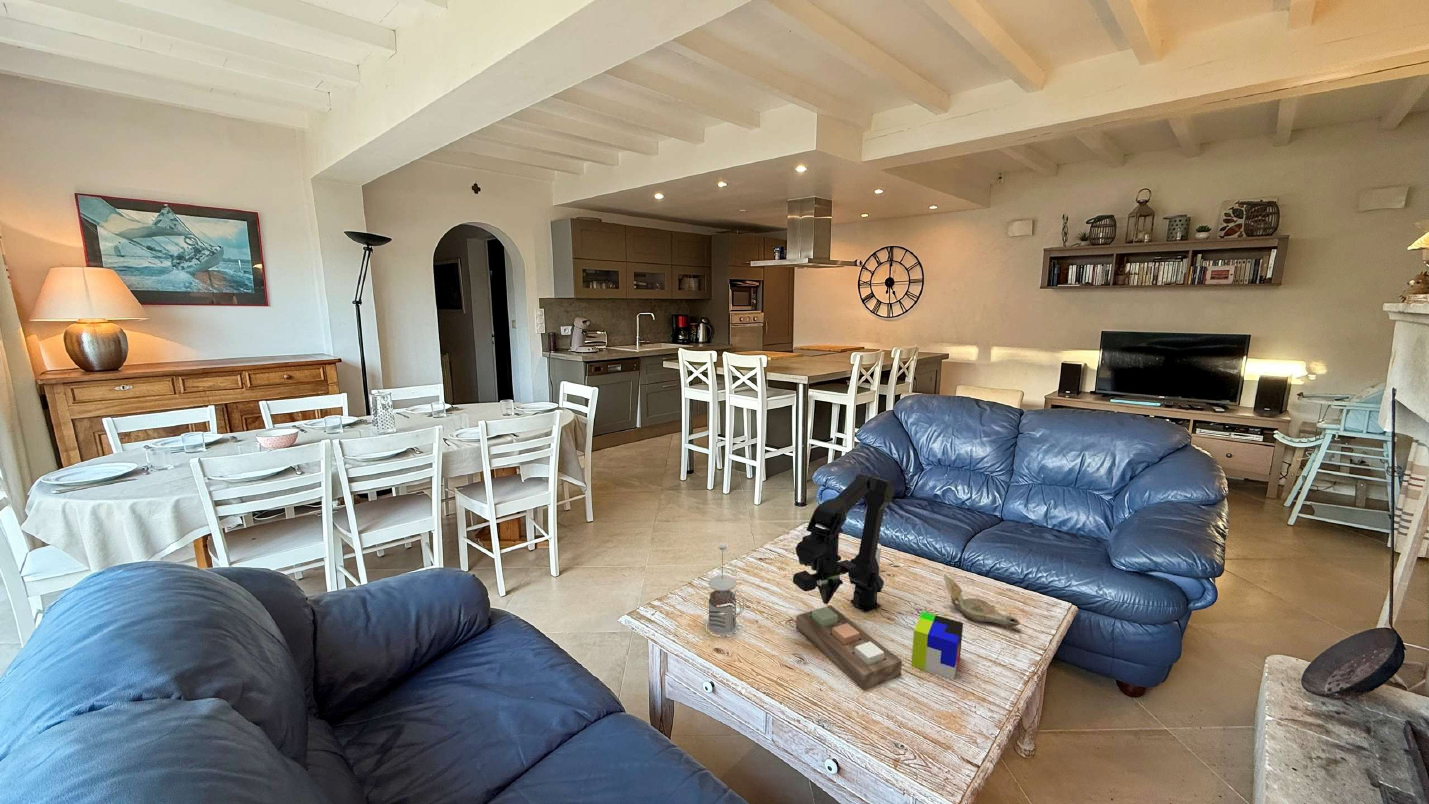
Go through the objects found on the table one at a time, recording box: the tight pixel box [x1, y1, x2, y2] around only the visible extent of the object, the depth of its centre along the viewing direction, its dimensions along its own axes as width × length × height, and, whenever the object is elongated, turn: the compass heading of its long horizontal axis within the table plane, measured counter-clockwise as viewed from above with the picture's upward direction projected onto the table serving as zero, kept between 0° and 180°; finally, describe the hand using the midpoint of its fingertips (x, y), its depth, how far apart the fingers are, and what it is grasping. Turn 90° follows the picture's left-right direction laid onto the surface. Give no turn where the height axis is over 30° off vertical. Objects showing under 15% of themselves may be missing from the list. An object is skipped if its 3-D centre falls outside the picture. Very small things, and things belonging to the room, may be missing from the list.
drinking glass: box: [876, 542, 882, 566], centre depth 188 cm, size 7×7×10 cm
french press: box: [706, 544, 745, 636], centre depth 155 cm, size 10×12×25 cm
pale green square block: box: [811, 606, 838, 628], centre depth 154 cm, size 5×5×3 cm
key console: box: [795, 605, 903, 691], centre depth 147 cm, size 12×28×4 cm, turn 26°
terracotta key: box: [832, 623, 860, 646], centre depth 146 cm, size 5×5×3 cm
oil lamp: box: [943, 573, 1021, 628], centre depth 161 cm, size 9×21×10 cm, turn 47°
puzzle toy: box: [911, 611, 964, 681], centre depth 141 cm, size 10×10×10 cm
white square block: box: [854, 641, 884, 666], centre depth 138 cm, size 5×5×3 cm
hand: (825, 603), depth 153 cm, fingers closed
